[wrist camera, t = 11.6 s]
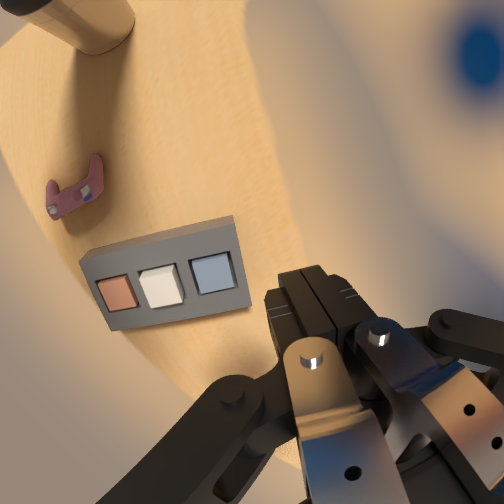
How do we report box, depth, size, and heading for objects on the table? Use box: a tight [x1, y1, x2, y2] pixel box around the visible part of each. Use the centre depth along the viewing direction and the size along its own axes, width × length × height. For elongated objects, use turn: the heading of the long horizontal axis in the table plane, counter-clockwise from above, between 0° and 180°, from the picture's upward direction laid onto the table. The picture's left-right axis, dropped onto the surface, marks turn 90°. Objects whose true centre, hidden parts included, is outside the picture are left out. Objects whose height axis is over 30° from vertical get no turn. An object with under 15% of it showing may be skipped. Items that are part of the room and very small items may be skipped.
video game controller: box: [46, 153, 104, 220], centre depth 29 cm, size 10×5×7 cm, turn 107°
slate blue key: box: [192, 251, 234, 294], centre depth 36 cm, size 4×4×2 cm
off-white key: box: [139, 264, 184, 308], centre depth 34 cm, size 4×4×2 cm
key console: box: [79, 215, 252, 331], centre depth 36 cm, size 12×22×4 cm, turn 100°
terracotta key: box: [98, 273, 138, 311], centre depth 35 cm, size 4×4×2 cm
